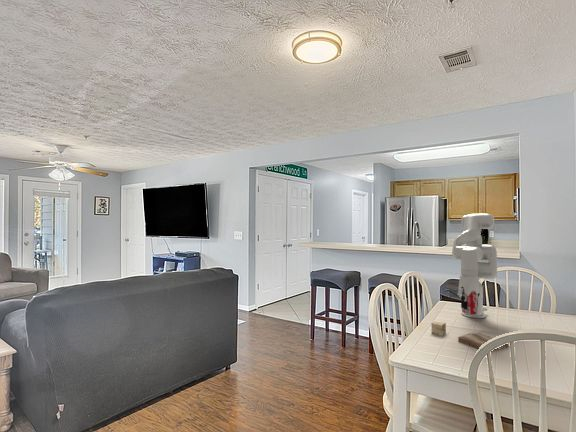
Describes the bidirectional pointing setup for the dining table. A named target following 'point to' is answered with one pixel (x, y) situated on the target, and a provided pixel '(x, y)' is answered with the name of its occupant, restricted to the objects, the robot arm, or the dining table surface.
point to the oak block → (438, 327)
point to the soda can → (471, 304)
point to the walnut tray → (476, 340)
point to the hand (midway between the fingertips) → (469, 307)
